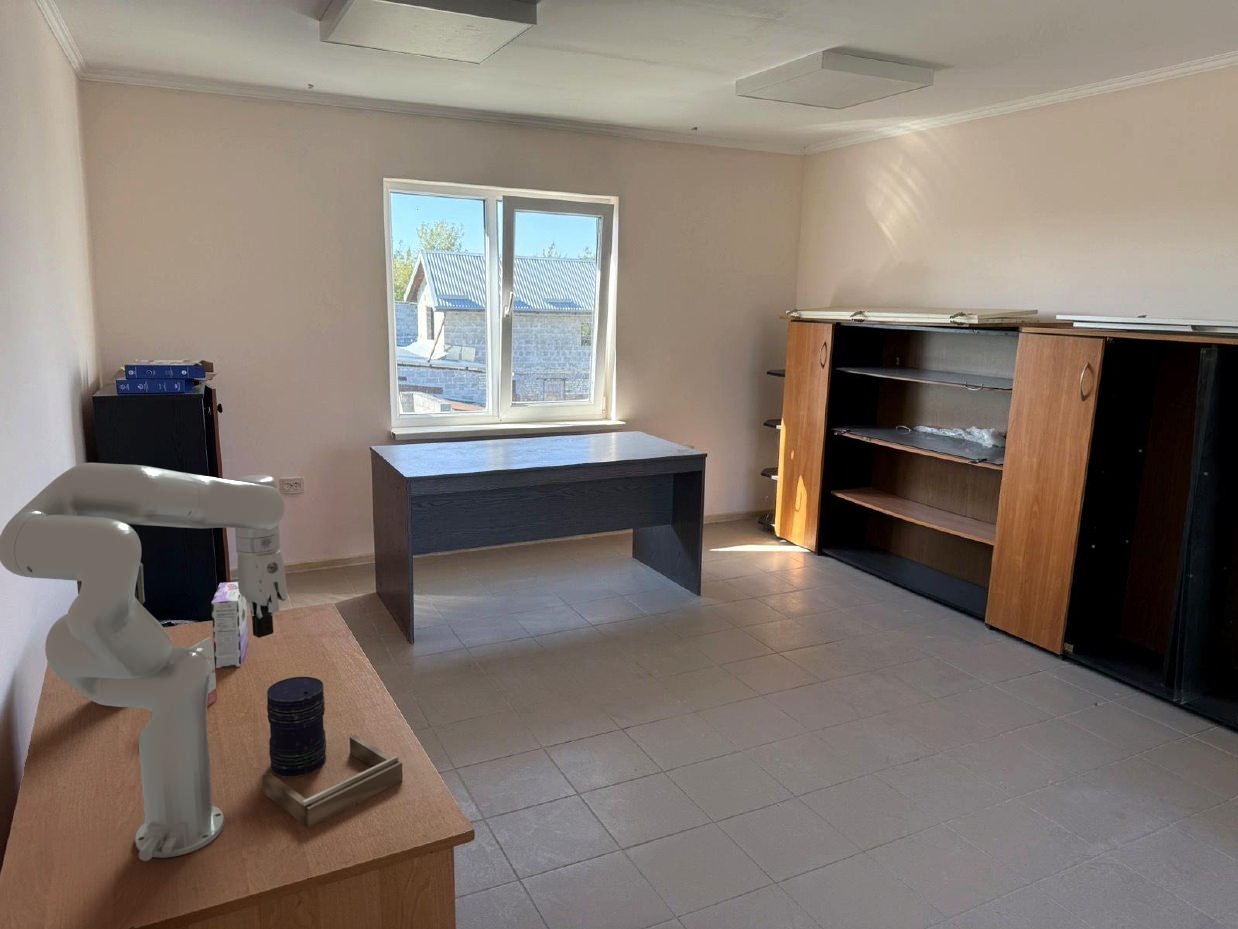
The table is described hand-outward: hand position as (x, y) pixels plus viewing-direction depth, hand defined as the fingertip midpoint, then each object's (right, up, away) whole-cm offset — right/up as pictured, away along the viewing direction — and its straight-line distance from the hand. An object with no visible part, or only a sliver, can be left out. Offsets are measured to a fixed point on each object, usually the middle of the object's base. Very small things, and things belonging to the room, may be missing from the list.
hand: (263, 634), depth 155 cm
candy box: (-25, -14, +41) cm, 50 cm away
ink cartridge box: (-21, -19, +16) cm, 33 cm away
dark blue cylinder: (+8, -24, -3) cm, 25 cm away
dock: (+17, -25, -10) cm, 32 cm away
